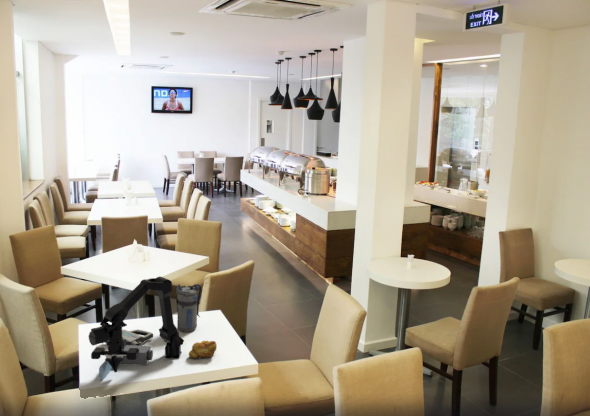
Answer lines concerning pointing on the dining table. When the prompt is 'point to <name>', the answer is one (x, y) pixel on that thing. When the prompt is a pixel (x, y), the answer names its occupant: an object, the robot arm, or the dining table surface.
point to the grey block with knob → (142, 358)
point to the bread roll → (203, 349)
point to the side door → (104, 370)
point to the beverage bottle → (188, 307)
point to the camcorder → (135, 337)
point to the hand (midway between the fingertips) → (115, 371)
